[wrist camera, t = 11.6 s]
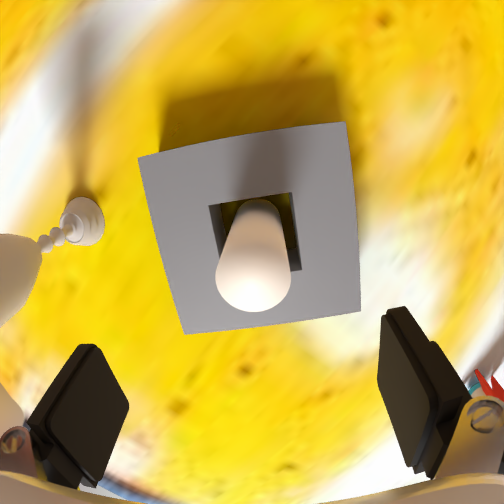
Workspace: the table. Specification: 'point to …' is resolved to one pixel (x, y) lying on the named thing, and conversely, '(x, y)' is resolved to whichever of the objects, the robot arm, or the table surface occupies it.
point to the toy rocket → (486, 388)
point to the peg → (254, 259)
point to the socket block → (250, 186)
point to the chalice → (29, 252)
